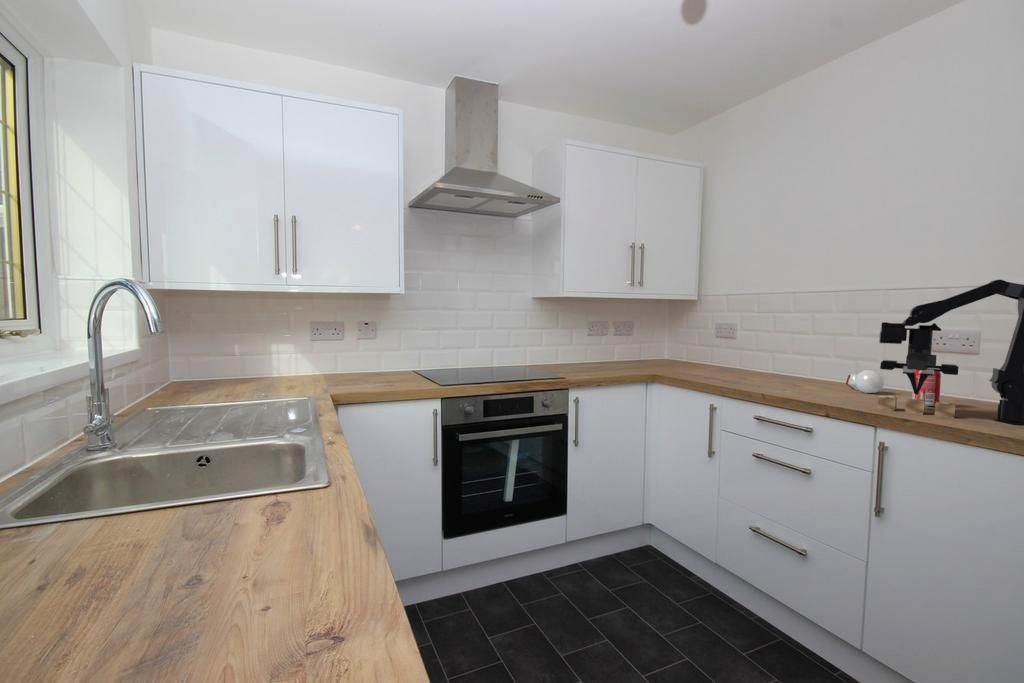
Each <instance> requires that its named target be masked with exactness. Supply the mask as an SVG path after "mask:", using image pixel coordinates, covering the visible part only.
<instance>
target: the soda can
mask: <svg viewBox="0 0 1024 683" xmlns="http://www.w3.org/2000/svg"><path fill="white" fill-rule="evenodd" d="M914 372H916V385H917V386H918V382H919V378H920V373H921V372H922V371H921V370H915V371H914ZM941 373H942V372H939V371H934V372H933V376H928V377H927V379H926V380H925V381H924V383H923V385H922V387H921V389H920V391H919V393H918V395H915V394H914V391H913V390H912V398H911V399H915V400H925V406H935V403H936V402H940V400H941V399H940V396H941V395H940V394H941V381H942V380H941V378H942V374H941Z"/></svg>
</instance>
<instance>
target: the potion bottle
mask: <svg viewBox="0 0 1024 683" xmlns="http://www.w3.org/2000/svg"><path fill="white" fill-rule="evenodd" d="M845 385H846V386H848V387H850V388H851V389H853V390H855V391H860V392H862V393H864V394H871V393H874V394H877V393H878V392H881V390H882V389H883V388H884V386H885V378H884V377H883V375H882V374H881V373H880V372H878V371H876V370H874V369H864V370H862V371H861V370H860V371H859V372H858V373H850V374H848V376H847V378H846V381H845Z"/></svg>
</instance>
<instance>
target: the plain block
mask: <svg viewBox="0 0 1024 683" xmlns="http://www.w3.org/2000/svg"><path fill="white" fill-rule="evenodd" d="M904 408H905V410H904V412H905V411H908V412H916V413H924V414H925V411H926V410H925V409H926V407H925V400H915V399H912V398H906V400H905V407H904Z"/></svg>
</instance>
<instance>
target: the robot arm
mask: <svg viewBox="0 0 1024 683" xmlns="http://www.w3.org/2000/svg"><path fill="white" fill-rule="evenodd" d="M995 295H998V296H1001V297H1002V296H1003V297H1006V298H1009V299H1013V300H1016V301H1017V314H1018V317H1017V321H1016V324H1015V327H1014V331H1013V334H1012V337H1011V339H1010V340H1011V341H1010V344H1009V347H1008V350H1007V354H1006V356H1005V360H1004V363H1003V364H1002V365H1001V367H1000V368H999V369H998V368H994V367H993V369H992V375H991V378H990V379H989V380H988V381H989V382H991V388H992V389H993V390H994V391H995V393H998V394H999V397H1000V398H1001V399H999V404H997V415H996V418H992V420H993V421H995V422H996V421H997V422H1003V423H1005V424H1006V423H1007V424H1010V425H1016V426H1017V425H1019V426H1020V425H1022V426H1024V284H1021V283H1015V282H1011V281H1005V279H1004V280H1003V279H995V280H991V281H990V282H987V283H985V284H984V285H980V286H977V287H975V288H972V289H969V290H967V291H963V292H962V293H959V294H956V295H953V296H950V297H947V298H945V299H940V300H937V301H932V302H927V303H924V304H919V305H915V306H913V307H912V308H911V309H910V312H909V316H908V317H906V319H905V320H903V322H893V323H892V322H884V321H883V322H881V325H880V332H879V337H878V338H879V339H878V341H879V344H894V345H902V344H903V342H906V341H907V337H908V342H907V343H908V345H907V356H906V358H905V359H906V360H905V363H901V362H898V360H895V359H894V360H893V359H892V360H891V359H884V360H882V361H881V362H880V370H884V371H885V370H886V371H887V370H888V371H893V370H894V369H899V370H900V369H902V370H903V371H902V374H905V375H906V376H907V377H908V379H909V382H910V384H911V388H912V392H913V391H914V394H915V395H918V393H919V391H920V389H921V387H922V385H923V383H924V381H925V380H926V379H927V377H928V376H933V372H934V371H939V372H940V373H942V374H944V375H953V376H958V375H959V365H957V364H953V363H952V364H951V363H941V365H937V356H938V355H937V354H932V349H933V348H932V347H933V346H932V345H933V336H934V332H941V331H942V328H940V326H938V325H937V324H936V323H935V322H933V321H934V320H936V319H938V318H939V317H942V316H943V315H945V314H947V313H948V312H950V311H953V310H955V309H958V308H961V307H963V306H967V305H969V304H972V303H975V302H978V301H980V300H983V299H986V298H989V297H991V296H995ZM930 322H933V323H932V324H930V325H929V324H928V325H925V324H926V323H930ZM917 324H919V325H918V327H917V328H915V327H913V326H916V325H917ZM921 324H922V325H921ZM907 327H913V328H907ZM908 332H909V333H908ZM915 370H921V371H922V372H921V373H920V378H919V382H918V386H917V385H916V372H914V371H915Z"/></svg>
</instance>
